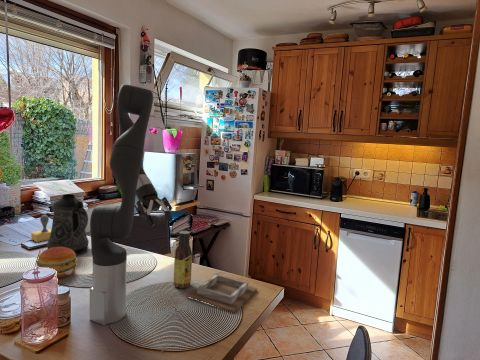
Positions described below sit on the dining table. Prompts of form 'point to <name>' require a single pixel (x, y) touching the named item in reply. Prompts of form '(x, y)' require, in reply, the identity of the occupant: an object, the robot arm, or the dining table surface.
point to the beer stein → (69, 225)
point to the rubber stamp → (42, 231)
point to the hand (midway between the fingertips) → (162, 223)
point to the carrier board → (224, 292)
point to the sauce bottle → (183, 261)
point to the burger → (58, 260)
